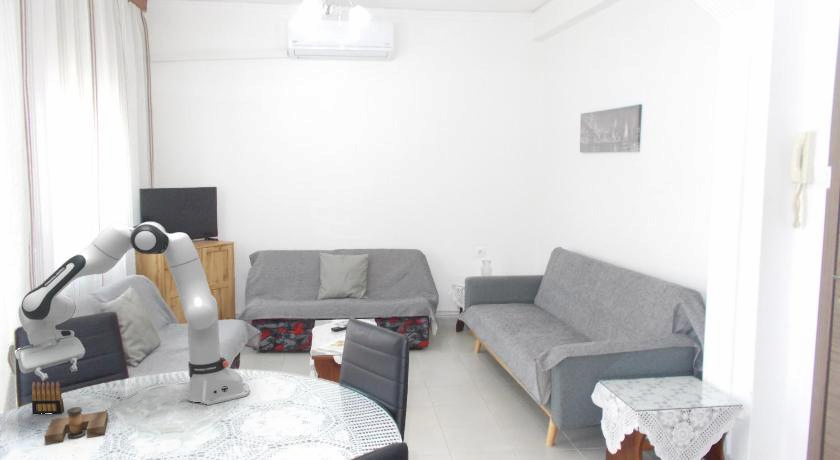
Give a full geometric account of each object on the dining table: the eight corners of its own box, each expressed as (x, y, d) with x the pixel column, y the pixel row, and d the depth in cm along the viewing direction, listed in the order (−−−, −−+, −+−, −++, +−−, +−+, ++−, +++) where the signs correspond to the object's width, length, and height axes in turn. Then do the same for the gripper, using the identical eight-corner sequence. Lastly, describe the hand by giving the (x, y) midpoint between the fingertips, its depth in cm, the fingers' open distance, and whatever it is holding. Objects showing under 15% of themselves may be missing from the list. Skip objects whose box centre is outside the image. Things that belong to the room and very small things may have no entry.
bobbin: (86, 431, 210) (84, 405, 209) (84, 437, 205) (82, 411, 204) (69, 433, 208) (66, 408, 207) (66, 440, 203) (64, 413, 202)
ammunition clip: (32, 414, 225) (29, 382, 224) (35, 412, 227) (32, 380, 225) (61, 414, 225) (58, 382, 223) (64, 412, 226) (61, 380, 225)
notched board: (108, 418, 219) (107, 410, 219) (104, 435, 206) (103, 426, 206) (52, 427, 213) (51, 419, 213) (45, 444, 200) (44, 436, 200)
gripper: (14, 344, 208) (29, 380, 204) (77, 329, 224) (93, 361, 220) (9, 354, 212) (24, 389, 207) (72, 338, 228) (87, 370, 224)
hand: (60, 375), depth 214 cm, fingers open, 8 cm apart
